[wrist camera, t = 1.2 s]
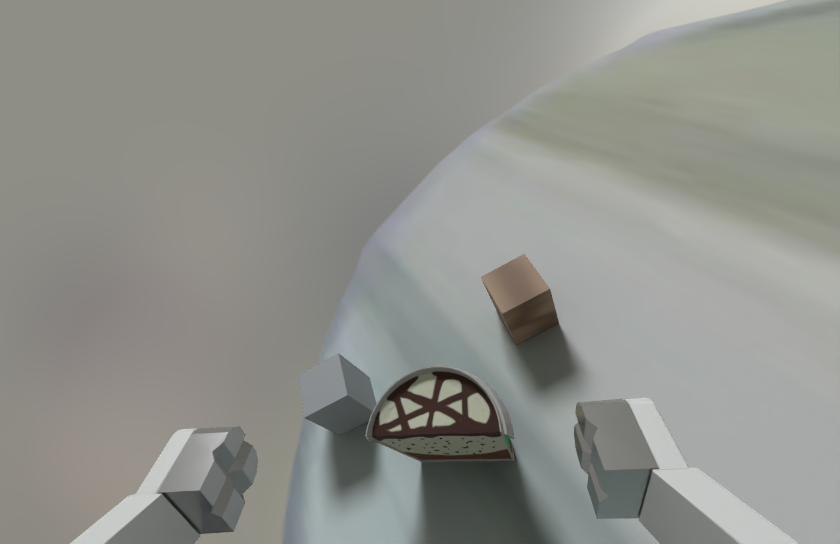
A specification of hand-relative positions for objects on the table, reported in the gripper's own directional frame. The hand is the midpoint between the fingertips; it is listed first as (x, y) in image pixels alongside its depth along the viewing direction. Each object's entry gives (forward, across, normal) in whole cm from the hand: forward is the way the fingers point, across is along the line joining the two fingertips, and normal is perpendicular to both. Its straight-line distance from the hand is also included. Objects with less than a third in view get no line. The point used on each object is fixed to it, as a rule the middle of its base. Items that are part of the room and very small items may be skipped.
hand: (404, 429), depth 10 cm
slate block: (+24, +13, +28) cm, 40 cm away
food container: (+20, 0, +27) cm, 34 cm away
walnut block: (+29, -8, +22) cm, 37 cm away
